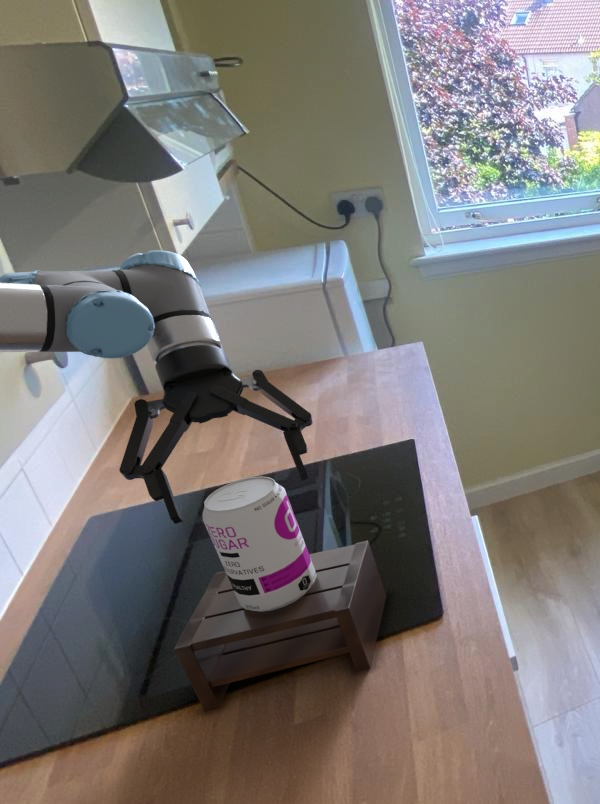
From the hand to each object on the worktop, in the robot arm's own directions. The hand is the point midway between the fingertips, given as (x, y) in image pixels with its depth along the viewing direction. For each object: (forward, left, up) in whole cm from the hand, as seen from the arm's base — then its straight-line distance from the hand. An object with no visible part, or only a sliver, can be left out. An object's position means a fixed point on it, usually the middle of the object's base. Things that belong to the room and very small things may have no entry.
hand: (243, 497), depth 94 cm
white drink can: (+3, -7, -10) cm, 13 cm away
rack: (+3, -7, -20) cm, 22 cm away
